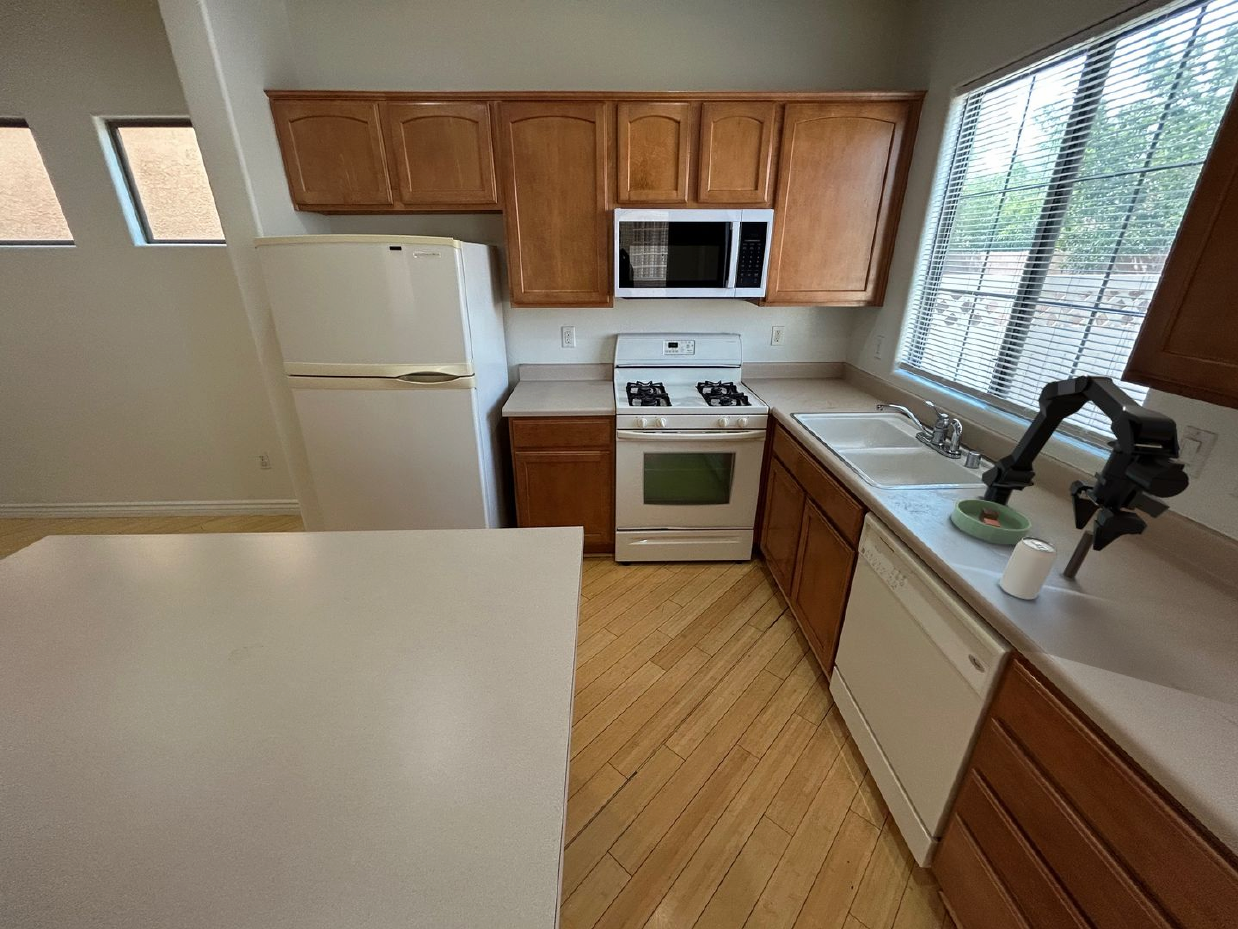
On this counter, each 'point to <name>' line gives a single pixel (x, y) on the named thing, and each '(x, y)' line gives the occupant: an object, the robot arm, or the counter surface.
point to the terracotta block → (991, 522)
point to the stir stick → (1079, 554)
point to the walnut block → (988, 514)
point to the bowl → (1008, 519)
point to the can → (1028, 568)
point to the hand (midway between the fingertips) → (1087, 539)
